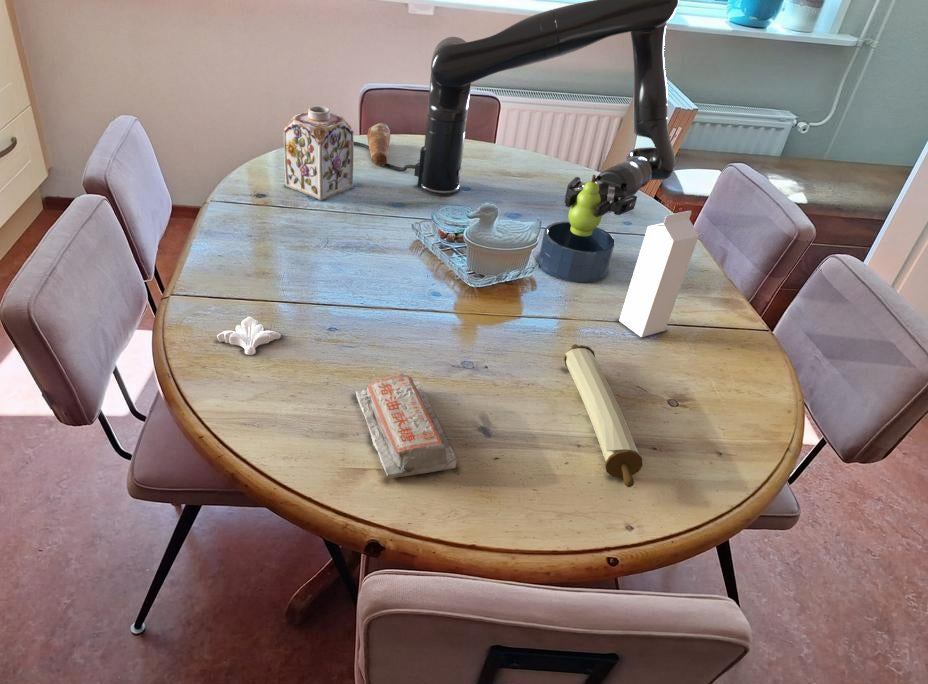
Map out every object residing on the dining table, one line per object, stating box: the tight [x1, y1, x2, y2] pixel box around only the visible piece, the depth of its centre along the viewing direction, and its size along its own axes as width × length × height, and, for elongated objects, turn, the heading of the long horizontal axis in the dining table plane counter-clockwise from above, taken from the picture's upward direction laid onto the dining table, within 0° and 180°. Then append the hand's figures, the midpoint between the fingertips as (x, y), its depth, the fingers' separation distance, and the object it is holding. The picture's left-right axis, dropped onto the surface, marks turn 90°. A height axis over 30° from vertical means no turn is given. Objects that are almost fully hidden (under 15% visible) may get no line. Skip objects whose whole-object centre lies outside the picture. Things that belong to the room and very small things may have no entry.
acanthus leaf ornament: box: [216, 316, 281, 356], centre depth 114 cm, size 8×7×2 cm
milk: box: [618, 210, 700, 338], centre depth 121 cm, size 6×6×22 cm
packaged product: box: [355, 372, 458, 480], centre depth 98 cm, size 18×5×10 cm
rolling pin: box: [563, 344, 644, 488], centre depth 104 cm, size 32×6×5 cm, turn 3°
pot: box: [538, 220, 616, 283], centre depth 142 cm, size 14×14×6 cm
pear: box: [567, 174, 603, 236], centre depth 136 cm, size 6×6×12 cm
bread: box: [366, 122, 391, 167], centre depth 183 cm, size 6×19×6 cm, turn 1°
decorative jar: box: [283, 105, 355, 201], centre depth 160 cm, size 12×12×18 cm
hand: (582, 206), depth 134 cm, fingers closed on pear, 5 cm apart
